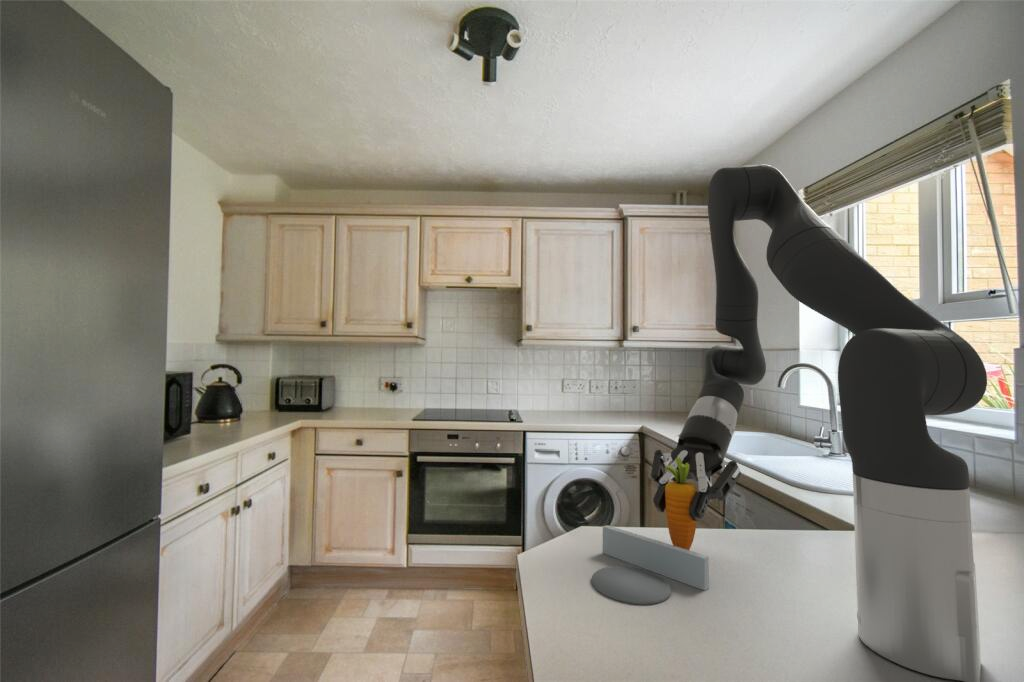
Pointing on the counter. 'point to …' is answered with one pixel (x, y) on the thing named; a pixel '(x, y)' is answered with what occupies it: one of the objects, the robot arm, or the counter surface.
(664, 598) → the rest mat
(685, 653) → the counter surface
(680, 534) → the carrot
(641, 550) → the low wall
